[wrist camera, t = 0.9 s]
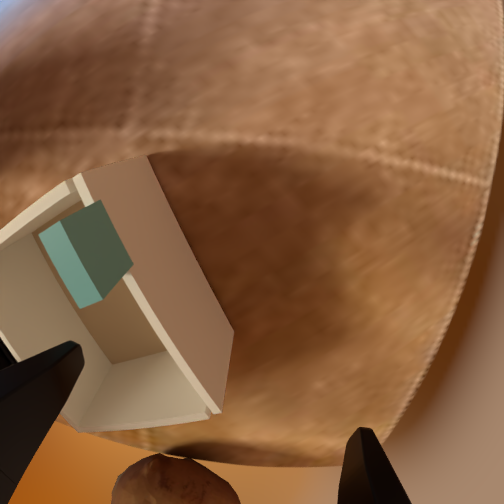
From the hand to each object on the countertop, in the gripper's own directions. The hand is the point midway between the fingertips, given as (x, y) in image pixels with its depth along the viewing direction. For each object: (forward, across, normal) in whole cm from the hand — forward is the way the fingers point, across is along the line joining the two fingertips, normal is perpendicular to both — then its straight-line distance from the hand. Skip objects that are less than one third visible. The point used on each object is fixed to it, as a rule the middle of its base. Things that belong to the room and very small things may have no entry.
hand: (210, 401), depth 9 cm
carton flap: (+12, +5, +2) cm, 13 cm away
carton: (+11, +10, +5) cm, 16 cm away
